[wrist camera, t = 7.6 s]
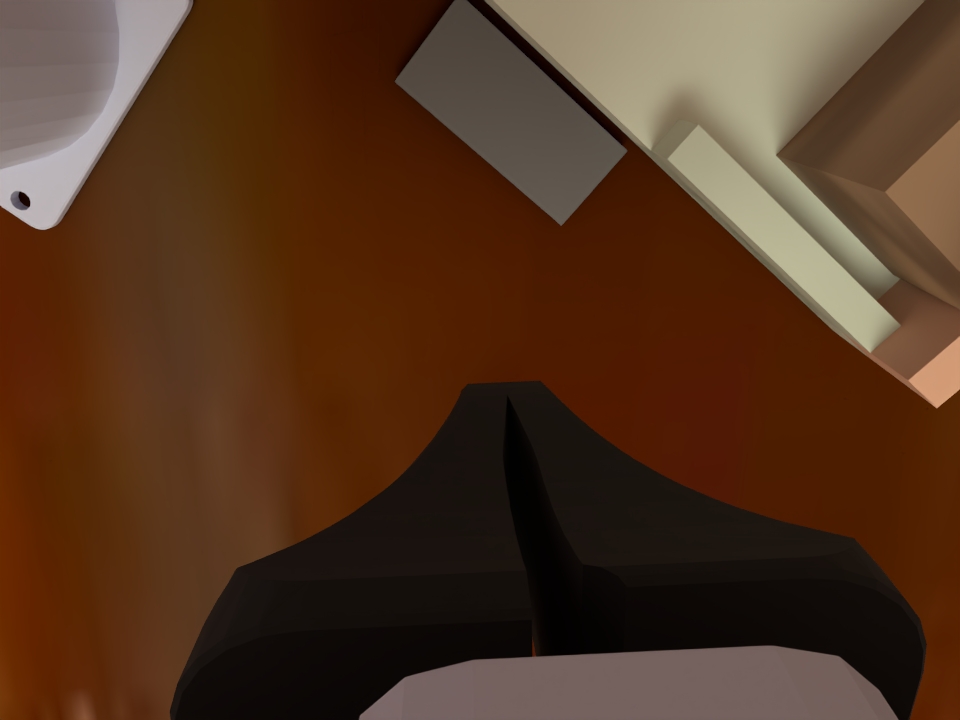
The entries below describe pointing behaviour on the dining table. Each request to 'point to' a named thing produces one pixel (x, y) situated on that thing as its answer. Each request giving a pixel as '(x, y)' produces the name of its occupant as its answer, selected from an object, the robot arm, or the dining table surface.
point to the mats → (509, 111)
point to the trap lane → (754, 142)
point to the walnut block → (896, 152)
